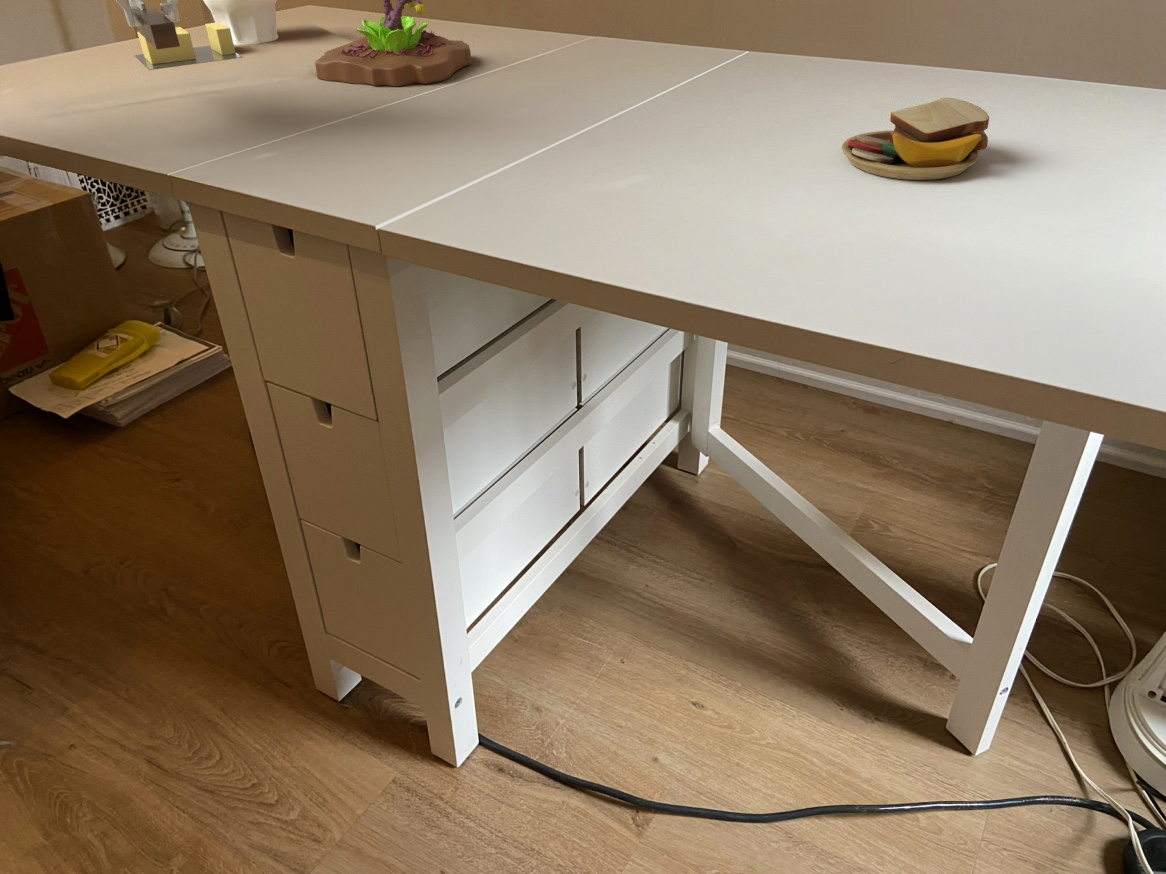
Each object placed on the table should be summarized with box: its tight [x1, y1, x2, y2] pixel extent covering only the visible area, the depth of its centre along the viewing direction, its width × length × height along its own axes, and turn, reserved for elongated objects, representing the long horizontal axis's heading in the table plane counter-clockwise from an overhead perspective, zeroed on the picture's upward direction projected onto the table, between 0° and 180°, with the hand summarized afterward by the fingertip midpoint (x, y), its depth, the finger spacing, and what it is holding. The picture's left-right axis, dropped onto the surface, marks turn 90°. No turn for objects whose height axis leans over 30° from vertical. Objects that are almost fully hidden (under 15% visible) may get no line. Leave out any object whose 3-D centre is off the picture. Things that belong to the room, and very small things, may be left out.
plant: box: [315, 0, 472, 87], centre depth 119 cm, size 20×20×11 cm
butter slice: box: [205, 22, 237, 55], centre depth 130 cm, size 2×6×4 cm, turn 34°
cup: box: [202, 0, 279, 46], centre depth 135 cm, size 12×12×11 cm
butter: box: [137, 26, 196, 65], centre depth 126 cm, size 6×6×4 cm
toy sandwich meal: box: [841, 97, 990, 181], centre depth 83 cm, size 12×14×5 cm
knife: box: [128, 0, 180, 49], centre depth 100 cm, size 20×2×3 cm, turn 32°
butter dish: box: [133, 45, 243, 71], centre depth 129 cm, size 13×12×1 cm
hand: (155, 23), depth 96 cm, fingers closed on knife, 2 cm apart
